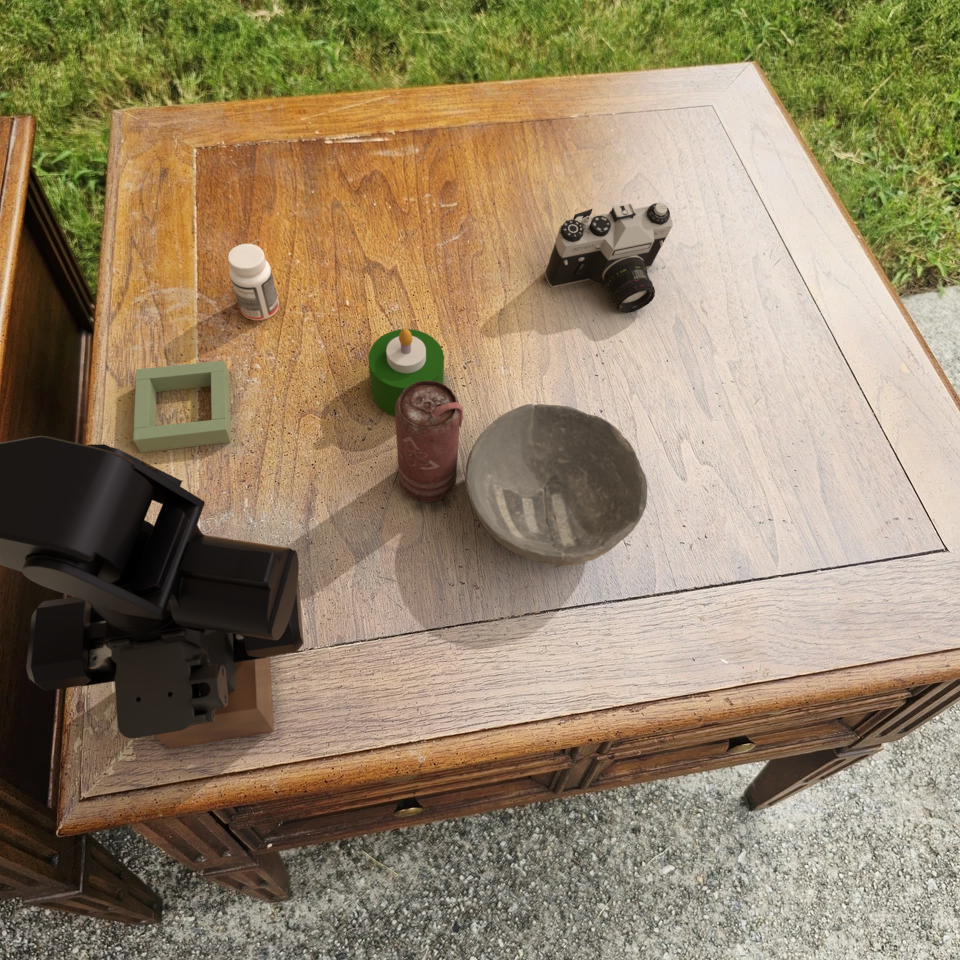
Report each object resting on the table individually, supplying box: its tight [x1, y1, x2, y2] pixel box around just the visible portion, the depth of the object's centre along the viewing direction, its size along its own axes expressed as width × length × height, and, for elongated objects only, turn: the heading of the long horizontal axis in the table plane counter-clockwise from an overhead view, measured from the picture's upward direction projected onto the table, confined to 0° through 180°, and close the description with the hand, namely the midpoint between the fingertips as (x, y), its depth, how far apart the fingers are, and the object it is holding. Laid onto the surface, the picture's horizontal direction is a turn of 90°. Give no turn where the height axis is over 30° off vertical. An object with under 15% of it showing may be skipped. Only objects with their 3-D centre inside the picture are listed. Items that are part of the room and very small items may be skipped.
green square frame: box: [132, 360, 232, 454], centre depth 87 cm, size 10×10×2 cm
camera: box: [544, 202, 673, 314], centre depth 97 cm, size 15×11×10 cm
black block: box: [204, 630, 235, 692], centre depth 64 cm, size 6×6×4 cm
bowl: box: [464, 403, 648, 568], centre depth 80 cm, size 18×18×8 cm
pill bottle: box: [227, 243, 280, 321], centre depth 93 cm, size 5×5×8 cm
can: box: [394, 380, 464, 503], centre depth 79 cm, size 6×6×14 cm
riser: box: [152, 656, 275, 750], centre depth 69 cm, size 9×9×8 cm
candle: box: [367, 328, 445, 417], centre depth 87 cm, size 8×8×10 cm
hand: (198, 661), depth 65 cm, fingers open, 7 cm apart
